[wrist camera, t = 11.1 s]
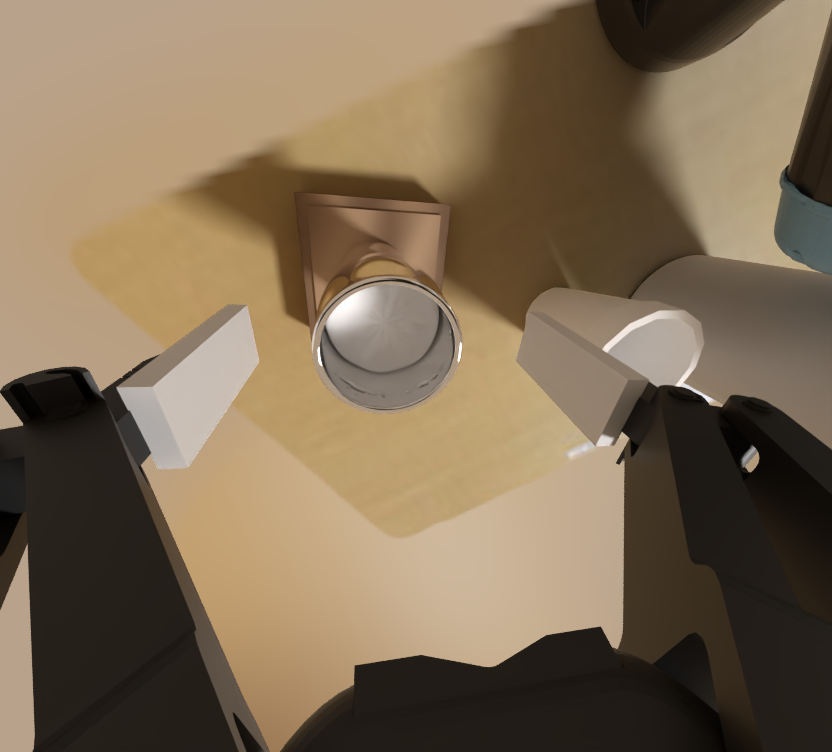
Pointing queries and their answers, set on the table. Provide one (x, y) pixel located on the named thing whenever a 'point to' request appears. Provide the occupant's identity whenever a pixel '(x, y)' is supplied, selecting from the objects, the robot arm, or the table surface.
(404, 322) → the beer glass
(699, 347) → the foam cup
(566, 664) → the robot arm
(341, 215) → the coaster
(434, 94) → the table surface
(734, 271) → the cylinder vase
